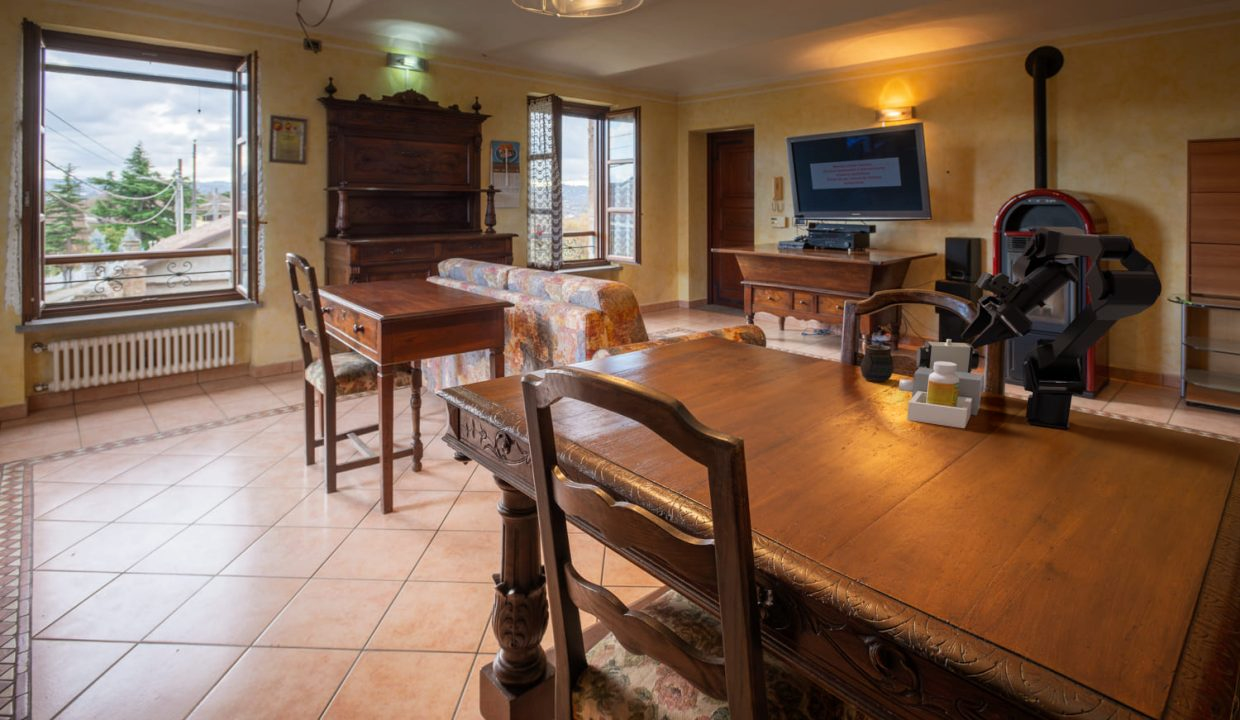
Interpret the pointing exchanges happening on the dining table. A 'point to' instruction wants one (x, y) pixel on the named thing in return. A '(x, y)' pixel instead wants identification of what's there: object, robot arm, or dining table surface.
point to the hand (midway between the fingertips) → (967, 342)
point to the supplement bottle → (943, 385)
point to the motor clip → (938, 413)
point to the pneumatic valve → (948, 355)
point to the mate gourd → (877, 363)
